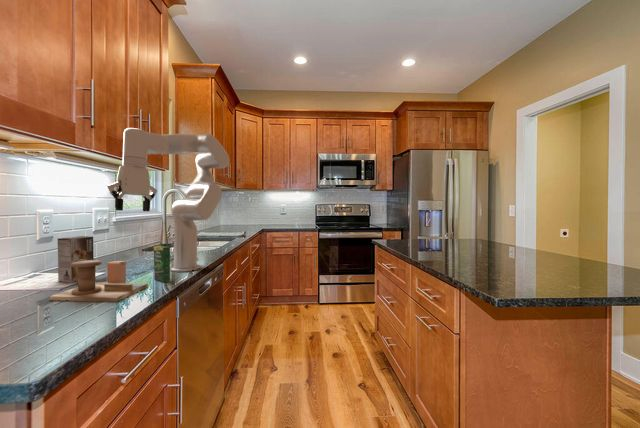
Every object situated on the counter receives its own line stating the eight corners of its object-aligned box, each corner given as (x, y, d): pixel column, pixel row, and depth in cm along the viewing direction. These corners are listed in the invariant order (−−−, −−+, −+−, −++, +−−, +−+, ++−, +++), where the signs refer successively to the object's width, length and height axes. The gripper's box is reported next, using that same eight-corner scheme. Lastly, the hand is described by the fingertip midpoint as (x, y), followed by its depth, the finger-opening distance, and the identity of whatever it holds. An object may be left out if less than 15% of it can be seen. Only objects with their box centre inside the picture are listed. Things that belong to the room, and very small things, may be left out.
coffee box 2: (153, 279, 121) (153, 245, 121) (160, 278, 124) (160, 245, 123) (162, 282, 116) (162, 247, 116) (170, 281, 118) (170, 246, 118)
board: (91, 285, 110) (91, 276, 110) (148, 286, 110) (148, 277, 110) (49, 300, 93) (49, 289, 93) (116, 301, 93) (116, 291, 93)
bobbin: (83, 288, 103) (83, 260, 102) (107, 288, 103) (107, 260, 102) (65, 294, 95) (64, 264, 95) (90, 295, 95) (89, 264, 95)
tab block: (114, 282, 115) (114, 260, 115) (125, 282, 115) (125, 260, 115) (107, 285, 111) (107, 262, 111) (118, 285, 111) (118, 262, 111)
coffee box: (80, 276, 124) (80, 235, 124) (94, 277, 123) (94, 236, 122) (57, 281, 115) (57, 238, 115) (71, 282, 114) (71, 238, 113)
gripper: (151, 167, 123) (149, 211, 123) (103, 160, 108) (101, 209, 107) (163, 166, 119) (161, 211, 119) (115, 158, 104) (113, 210, 104)
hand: (133, 210), depth 113 cm, fingers open, 9 cm apart
